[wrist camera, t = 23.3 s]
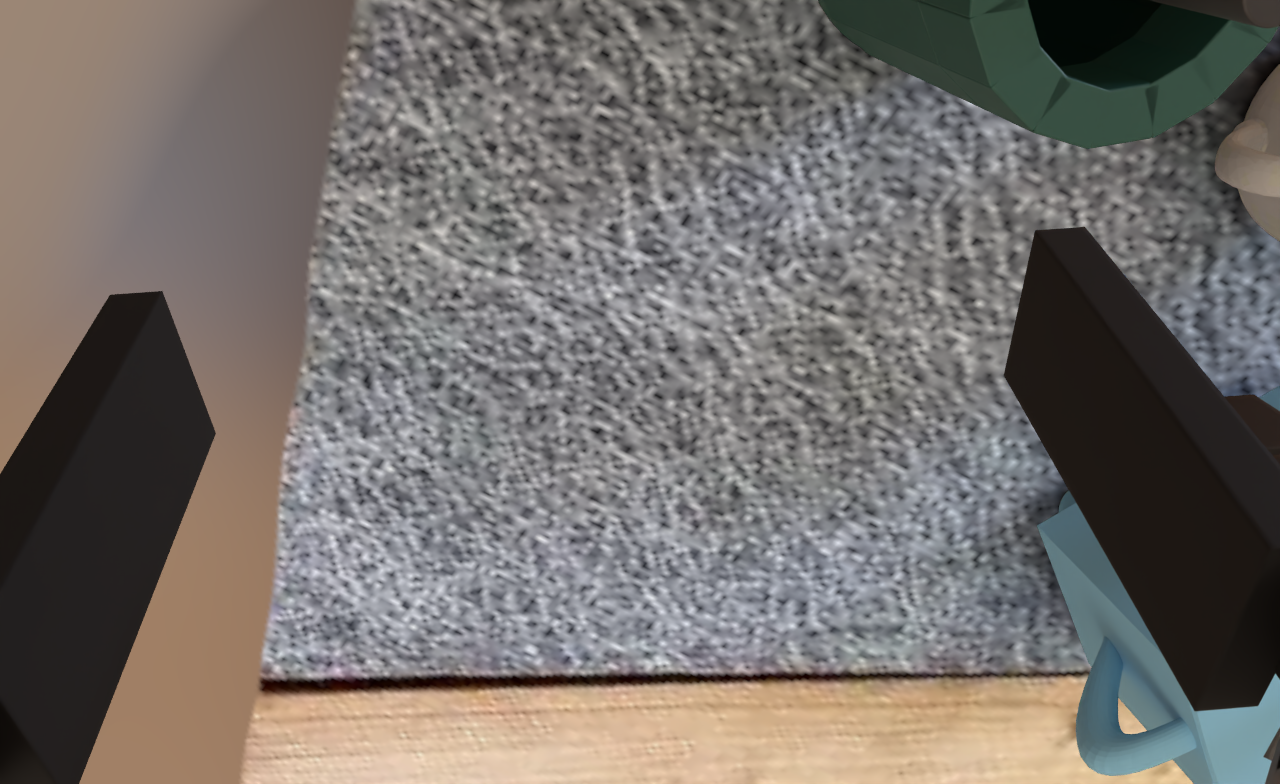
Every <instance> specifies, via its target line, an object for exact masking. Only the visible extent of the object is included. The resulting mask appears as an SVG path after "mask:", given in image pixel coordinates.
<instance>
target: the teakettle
mask: <svg viewBox="0 0 1280 784" xmlns="http://www.w3.org/2000/svg"><path fill="white" fill-rule="evenodd" d="M1259 398H1260V399H1262V400H1263V401H1265V402H1266V403H1268V404H1269V405H1271V406H1273V407H1274V408H1276V409H1277V410H1279V411H1280V386H1278V387H1277V388H1275V389H1273V390H1271V391H1270V392H1268V393H1266V394H1264V395H1263V396H1261V397H1259ZM1037 527H1038V530H1039V532H1040V535H1041V538H1042V540H1043V543H1044V546H1045V548H1046V551H1047V554H1048V556H1049V559H1050V561H1051V564H1052V567H1053V569H1054V572H1055V575H1056V577H1057V580H1058V583H1059V585H1060V588H1061V591H1062V593H1063V596H1064V599H1065V601H1066V604H1067V607H1068V609H1069V612H1070V614H1071V617H1072V620H1073V622H1074V625H1075V628H1076V631H1077V633H1078V636H1079V639H1080V641H1081V644H1082V647H1083V649H1084V652H1085V655H1086V657H1087V660H1088V663H1089V664H1090V666H1091V667H1092V668H1091V671H1090V674H1089V676H1088V679H1087V682H1086V685H1085V687H1084V690H1083V693H1082V697H1081V700H1080V703H1079V708H1078V713H1077V718H1076V737H1077V745H1078V749H1079V752H1080V756H1081V758H1082V759H1083V760H1084V762H1085V763H1086V764H1087V766H1088V767H1089V768H1091V769H1092V770H1094V771H1096V772H1097V773H1100V774H1104V775H1109V776H1116V775H1127V774H1131V773H1136V772H1140V771H1143V770H1146V769H1149V768H1152V767H1155V766H1157V765H1160V764H1162V763H1165V762H1167V761H1170V760H1172V759H1173V760H1174V761H1175V763H1176V764H1177V765H1178V766H1179V767H1180V768H1181V769H1182V771H1183V772H1184V773H1185V774H1186V775H1187V776H1188V777H1189V779H1190V780H1191V781H1192V782H1193V783H1194V784H1265V782H1266V778H1267V775H1268V772H1269V768H1270V765H1271V762H1272V761H1271V760H1269V759H1267V758H1264V757H1263V756H1264V754H1265V753H1266V751H1267V749H1268V747H1269V746H1270V744H1271V742H1272V740H1273V738H1274V737H1275V735H1276V733H1277V731H1278V729H1279V728H1280V679H1279V678H1278V676H1277V675H1276V673H1275V675H1274V677H1273V679H1272V681H1271V683H1270V685H1269V687H1268V689H1267V690H1266V692H1265V694H1264V696H1263V698H1262V700H1261V702H1260V704H1259V706H1255V707H1243V708H1231V709H1219V710H1207V711H1194V710H1193V708H1192V706H1191V704H1190V702H1189V701H1188V699H1187V697H1186V695H1185V694H1184V692H1183V690H1182V688H1181V687H1180V685H1179V683H1178V681H1177V680H1176V678H1175V676H1174V674H1173V673H1172V671H1171V669H1170V667H1169V665H1168V664H1167V662H1166V660H1165V658H1164V657H1163V655H1162V653H1161V651H1160V650H1159V648H1158V646H1157V644H1156V643H1155V641H1154V639H1153V637H1152V636H1151V634H1150V632H1149V630H1148V628H1147V627H1146V625H1145V623H1144V621H1143V620H1142V618H1141V616H1140V614H1139V613H1138V611H1137V609H1136V607H1135V606H1134V604H1133V602H1132V600H1131V599H1130V597H1129V595H1128V593H1127V591H1126V590H1125V588H1124V586H1123V584H1122V583H1121V581H1120V579H1119V577H1118V576H1117V574H1116V572H1115V570H1114V569H1113V567H1112V565H1111V563H1110V561H1109V560H1108V558H1107V556H1106V554H1105V553H1104V551H1103V549H1102V547H1101V546H1100V544H1099V542H1098V540H1097V539H1096V537H1095V535H1094V533H1093V532H1092V530H1091V528H1090V526H1089V524H1088V523H1087V521H1086V519H1085V517H1084V516H1083V514H1082V512H1081V510H1080V509H1079V507H1078V505H1077V503H1076V502H1075V500H1074V498H1073V496H1072V495H1071V493H1070V491H1069V490H1068V491H1067V492H1066V494H1065V495H1064V496H1063V498H1062V500H1061V502H1060V505H1059V513H1058V514H1056V515H1054V516H1053V517H1051V518H1049V519H1047V520H1046V521H1044V522H1042V523H1041V524H1039V525H1037ZM1118 698H1119V699H1120V700H1121V701H1122V702H1123V703H1124V704H1125V706H1126V707H1127V708H1128V709H1129V710H1130V711H1131V712H1132V714H1133V715H1134V716H1135V717H1136V718H1137V719H1138V720H1139V722H1140V723H1141V724H1142V725H1143V726H1144V727H1145V728H1146V730H1147V731H1145V732H1142V733H1138V734H1125V733H1123V732H1122V731H1121V729H1120V726H1119V722H1118Z"/></svg>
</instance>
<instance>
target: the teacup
mask: <svg viewBox="0 0 1280 784" xmlns="http://www.w3.org/2000/svg"><path fill="white" fill-rule="evenodd" d="M1215 171H1216V174H1217V176H1218V177H1219V178H1220V179H1221V180H1222V181H1224V182H1226V183H1227V184H1229V185H1231V186H1233V187H1235V188H1238V191H1239V194H1240V197H1241V200H1242V202H1243V204H1244V206H1245V208H1246V209H1247V211H1248V213H1249V214H1250V216H1251V217H1252V218H1253V219H1254V220H1255V222H1256V223H1257V224H1258V225H1259V226H1260V227H1261V228H1262V229H1264V230H1265V231H1266V232H1267V233H1268V234H1269V235H1271V236H1272V237H1274V238H1275V239H1277V240H1278V241H1280V64H1279V65H1278V66H1277V67H1276V68H1275V69H1274V70H1273V72H1272V73H1271V74H1270V75H1269V76H1268V78H1267V79H1266V80H1265V82H1264V83H1263V84H1262V86H1261V87H1260V89H1259V90H1258V92H1257V94H1256V95H1255V97H1254V99H1253V100H1252V102H1251V105H1250V107H1249V109H1248V111H1247V114H1246V116H1245V119H1244V122H1242V123H1240V124H1239V125H1237V126H1236V127H1235V129H1234V130H1233V132H1232V133H1231V134H1229V135H1228V136H1227V137H1226V138H1225V139H1224V140H1223V142H1222V143H1221V145H1220V147H1219V149H1218V152H1217V155H1216V160H1215Z"/></svg>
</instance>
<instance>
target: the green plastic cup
mask: <svg viewBox="0 0 1280 784" xmlns="http://www.w3.org/2000/svg"><path fill="white" fill-rule="evenodd" d="M818 1H819V3H820V5H821V7H822V8H823V10H824V12H825V13H826V15H827V16H828V18H829V19H830V21H831V22H832V23H833V24H834V25H835V26H836V27H837V29H838V30H839V31H840V32H841V33H842V34H843V35H845V36H846V37H847V38H848V39H849V40H851V41H852V42H853V43H854V44H856V45H858V46H859V47H861V48H862V49H863V50H864V51H865V52H866V53H868V54H869V55H871V56H873V57H875V58H877V59H879V60H881V61H883V62H886V63H888V64H890V65H892V66H894V67H896V68H898V69H900V70H902V71H905V72H907V73H909V74H911V75H913V76H915V77H917V78H919V79H921V80H924V81H926V82H928V83H930V84H932V85H934V86H936V87H938V88H940V89H942V90H945V91H947V92H949V93H951V94H953V95H955V96H957V97H959V98H961V99H964V100H966V101H968V102H970V103H972V104H974V105H976V106H978V107H981V108H983V109H985V110H987V111H989V112H991V113H993V114H995V115H997V116H999V117H1001V118H1004V119H1006V120H1008V121H1010V122H1012V123H1014V124H1016V125H1018V126H1020V127H1023V128H1025V129H1027V130H1029V131H1031V132H1033V133H1036V134H1040V135H1043V136H1046V137H1050V138H1053V139H1056V140H1059V141H1063V142H1066V143H1069V144H1073V145H1076V146H1079V147H1083V148H1086V149H1089V148H1096V147H1102V146H1108V145H1114V144H1120V143H1126V142H1131V141H1137V140H1143V139H1149V138H1151V137H1152V138H1153V137H1156V136H1157V135H1159V134H1161V133H1163V132H1164V131H1166V130H1168V129H1169V128H1171V127H1173V126H1175V125H1176V124H1178V123H1180V122H1181V121H1183V120H1185V119H1187V118H1188V117H1190V116H1192V115H1193V114H1195V113H1197V112H1198V111H1200V110H1202V109H1204V108H1205V107H1207V106H1209V105H1210V104H1212V103H1214V100H1217V99H1218V98H1219V96H1220V95H1221V94H1222V93H1223V92H1224V91H1225V90H1226V89H1227V88H1228V87H1229V86H1230V85H1231V84H1232V83H1233V81H1234V80H1235V79H1236V78H1237V77H1238V76H1239V75H1240V74H1241V73H1242V72H1243V71H1244V70H1245V69H1246V68H1247V66H1248V65H1249V64H1250V63H1251V62H1252V61H1253V60H1254V59H1255V58H1256V57H1257V56H1258V55H1259V54H1260V53H1261V51H1262V50H1263V49H1264V48H1265V47H1266V46H1267V43H1270V41H1271V39H1272V38H1273V36H1274V34H1275V32H1276V30H1277V28H1278V27H1274V28H1261V27H1257V26H1253V25H1248V24H1244V23H1240V22H1236V21H1232V20H1228V19H1224V18H1220V17H1216V16H1212V15H1207V14H1203V13H1199V12H1195V11H1191V10H1187V9H1183V8H1179V7H1175V6H1171V5H1166V4H1162V3H1158V2H1154V1H1150V0H818Z"/></svg>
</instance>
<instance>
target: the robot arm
mask: <svg viewBox="0 0 1280 784" xmlns="http://www.w3.org/2000/svg"><path fill="white" fill-rule="evenodd" d="M1004 376H1005V378H1006V380H1007V382H1008V384H1009V385H1010V387H1011V389H1012V391H1013V392H1014V394H1015V396H1016V398H1017V399H1018V401H1019V403H1020V405H1021V406H1022V408H1023V410H1024V412H1025V413H1026V415H1027V417H1028V419H1029V421H1030V422H1031V424H1032V426H1033V428H1034V429H1035V431H1036V433H1037V435H1038V436H1039V438H1040V440H1041V442H1042V443H1043V445H1044V447H1045V449H1046V450H1047V452H1048V454H1049V456H1050V458H1051V459H1052V461H1053V463H1054V465H1055V466H1056V468H1057V470H1058V472H1059V473H1060V475H1061V477H1062V479H1063V480H1064V482H1065V484H1066V486H1067V487H1068V489H1069V491H1070V493H1071V495H1072V496H1073V498H1074V500H1075V502H1076V503H1077V505H1078V507H1079V509H1080V510H1081V512H1082V514H1083V516H1084V517H1085V519H1086V521H1087V523H1088V524H1089V526H1090V528H1091V530H1092V532H1093V533H1094V535H1095V537H1096V539H1097V540H1098V542H1099V544H1100V546H1101V547H1102V549H1103V551H1104V553H1105V554H1106V556H1107V558H1108V560H1109V561H1110V563H1111V565H1112V567H1113V569H1114V570H1115V572H1116V574H1117V576H1118V577H1119V579H1120V581H1121V583H1122V584H1123V586H1124V588H1125V590H1126V591H1127V593H1128V595H1129V597H1130V599H1131V600H1132V602H1133V604H1134V606H1135V607H1136V609H1137V611H1138V613H1139V614H1140V616H1141V618H1142V620H1143V621H1144V623H1145V625H1146V627H1147V628H1148V630H1149V632H1150V634H1151V636H1152V637H1153V639H1154V641H1155V643H1156V644H1157V646H1158V648H1159V650H1160V651H1161V653H1162V655H1163V657H1164V658H1165V660H1166V662H1167V664H1168V665H1169V667H1170V669H1171V671H1172V673H1173V674H1174V676H1175V678H1176V680H1177V681H1178V683H1179V685H1180V687H1181V688H1182V690H1183V692H1184V694H1185V695H1186V697H1187V699H1188V701H1189V702H1190V704H1191V706H1192V708H1193V710H1194V711H1207V710H1219V709H1231V708H1243V707H1255V706H1259V704H1260V702H1261V700H1262V698H1263V696H1264V694H1265V692H1266V690H1267V689H1268V687H1269V685H1270V683H1271V681H1272V679H1273V677H1274V675H1275V673H1276V675H1277V676H1278V678H1279V679H1280V411H1279V410H1277V409H1276V408H1274V407H1273V406H1271V405H1269V404H1268V403H1266V402H1265V401H1263V400H1262V399H1260V398H1258V397H1257V396H1255V395H1241V396H1227V397H1224V396H1223V395H1222V394H1221V392H1220V391H1219V390H1218V389H1217V387H1216V386H1215V385H1214V384H1213V383H1212V381H1211V380H1210V379H1209V378H1208V377H1207V375H1206V374H1205V373H1204V372H1203V370H1202V369H1201V368H1200V367H1199V366H1198V364H1197V363H1196V362H1195V361H1194V359H1193V358H1192V357H1191V356H1190V355H1189V353H1188V352H1187V351H1186V350H1185V348H1184V347H1183V346H1182V345H1181V344H1180V342H1179V341H1178V340H1177V339H1176V338H1175V336H1174V335H1173V334H1172V333H1171V331H1170V330H1169V329H1168V328H1167V327H1166V325H1165V324H1164V323H1163V322H1162V320H1161V319H1160V318H1159V317H1158V316H1157V314H1156V313H1155V312H1154V311H1153V310H1152V308H1151V307H1150V306H1149V305H1148V303H1147V302H1146V301H1145V300H1144V299H1143V297H1142V296H1141V295H1140V294H1139V292H1138V291H1137V290H1136V289H1135V288H1134V286H1133V285H1132V284H1131V283H1130V282H1129V280H1128V279H1127V278H1126V277H1125V275H1124V274H1123V273H1122V272H1121V271H1120V269H1119V268H1118V267H1117V266H1116V264H1115V263H1114V262H1113V261H1112V260H1111V258H1110V257H1109V256H1108V255H1107V254H1106V252H1105V251H1104V250H1103V249H1102V247H1101V246H1100V245H1099V244H1098V243H1097V241H1096V240H1095V239H1094V238H1093V236H1092V235H1091V234H1090V233H1089V232H1088V230H1087V229H1086V228H1085V227H1079V228H1064V229H1050V230H1036V231H1035V233H1034V238H1033V243H1032V247H1031V252H1030V257H1029V261H1028V266H1027V271H1026V275H1025V280H1024V284H1023V289H1022V294H1021V298H1020V303H1019V308H1018V312H1017V317H1016V322H1015V326H1014V331H1013V336H1012V340H1011V345H1010V349H1009V354H1008V359H1007V363H1006V368H1005V373H1004ZM215 434H216V433H215V430H214V427H213V425H212V422H211V419H210V417H209V414H208V411H207V409H206V406H205V403H204V401H203V398H202V396H201V393H200V390H199V388H198V385H197V382H196V380H195V377H194V375H193V372H192V369H191V366H190V364H189V361H188V358H187V356H186V353H185V350H184V348H183V345H182V342H181V340H180V337H179V334H178V332H177V329H176V327H175V324H174V321H173V319H172V316H171V313H170V310H169V308H168V305H167V302H166V300H165V297H164V295H163V292H162V291H158V292H145V293H130V294H115V295H110V296H109V298H108V299H107V301H106V303H105V304H104V306H103V307H102V309H101V310H100V312H99V314H98V315H97V317H96V319H95V320H94V322H93V324H92V325H91V327H90V328H89V330H88V332H87V334H86V335H85V337H84V338H83V340H82V341H81V343H80V345H79V346H78V348H77V350H76V351H75V353H74V355H73V356H72V358H71V360H70V361H69V363H68V364H67V366H66V368H65V369H64V371H63V373H62V374H61V376H60V378H59V379H58V381H57V382H56V384H55V386H54V387H53V389H52V390H51V392H50V394H49V395H48V397H47V399H46V400H45V402H44V404H43V405H42V407H41V408H40V410H39V412H38V413H37V415H36V417H35V418H34V420H33V421H32V423H31V425H30V427H29V428H28V430H27V432H26V433H25V435H24V436H23V438H22V439H21V441H20V443H19V444H18V446H17V448H16V449H15V451H14V453H13V454H12V456H11V457H10V459H9V461H8V462H7V464H6V466H5V467H4V469H3V471H2V472H1V474H0V784H79V782H80V780H81V777H82V774H83V772H84V769H85V767H86V764H87V762H88V759H89V757H90V754H91V751H92V749H93V746H94V744H95V741H96V739H97V736H98V734H99V731H100V728H101V726H102V723H103V721H104V718H105V716H106V713H107V710H108V708H109V705H110V703H111V700H112V698H113V695H114V692H115V690H116V687H117V685H118V682H119V680H120V677H121V674H122V672H123V669H124V667H125V664H126V662H127V659H128V657H129V654H130V652H131V649H132V646H133V644H134V641H135V639H136V636H137V634H138V631H139V629H140V626H141V623H142V621H143V618H144V616H145V613H146V611H147V608H148V605H149V603H150V600H151V598H152V595H153V592H154V590H155V588H156V585H157V582H158V580H159V577H160V575H161V572H162V570H163V567H164V564H165V562H166V559H167V556H168V554H169V552H170V549H171V546H172V544H173V541H174V539H175V536H176V534H177V531H178V529H179V526H180V524H181V521H182V518H183V516H184V513H185V511H186V508H187V506H188V503H189V500H190V498H191V495H192V493H193V490H194V487H195V485H196V482H197V480H198V477H199V475H200V472H201V470H202V467H203V465H204V462H205V459H206V457H207V454H208V452H209V449H210V447H211V444H212V441H213V439H214V436H215ZM1263 757H1264V758H1267V759H1269V760H1271V761H1272V762H1271V765H1270V768H1269V772H1268V775H1267V778H1266V782H1265V784H1280V728H1279V729H1278V731H1277V733H1276V735H1275V737H1274V738H1273V740H1272V742H1271V744H1270V746H1269V747H1268V749H1267V751H1266V753H1265V754H1264V756H1263Z"/></svg>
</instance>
